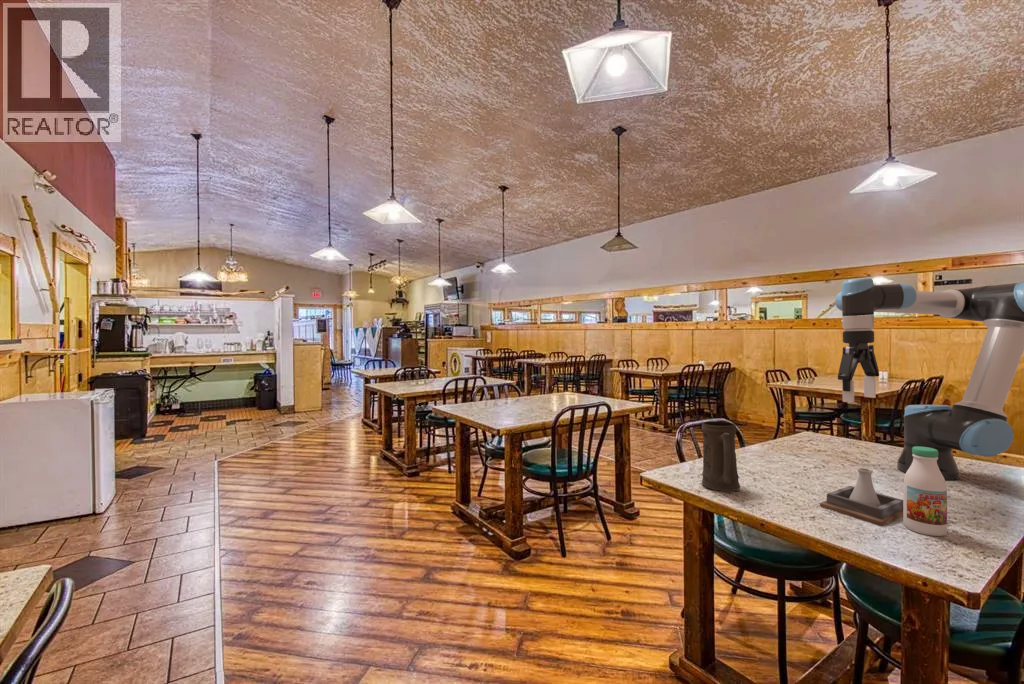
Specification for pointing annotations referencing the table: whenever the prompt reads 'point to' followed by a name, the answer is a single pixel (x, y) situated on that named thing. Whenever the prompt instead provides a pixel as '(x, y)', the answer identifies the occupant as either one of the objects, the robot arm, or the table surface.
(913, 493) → the milk bottle
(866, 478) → the flask
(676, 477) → the table surface
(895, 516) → the rectangular tray
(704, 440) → the beer stein
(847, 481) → the table surface
